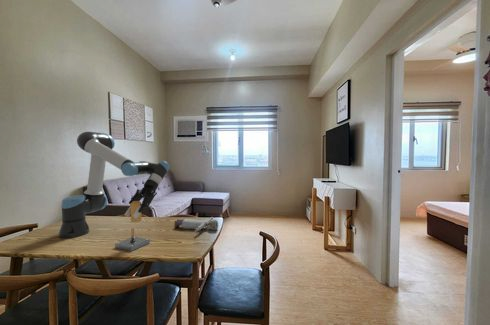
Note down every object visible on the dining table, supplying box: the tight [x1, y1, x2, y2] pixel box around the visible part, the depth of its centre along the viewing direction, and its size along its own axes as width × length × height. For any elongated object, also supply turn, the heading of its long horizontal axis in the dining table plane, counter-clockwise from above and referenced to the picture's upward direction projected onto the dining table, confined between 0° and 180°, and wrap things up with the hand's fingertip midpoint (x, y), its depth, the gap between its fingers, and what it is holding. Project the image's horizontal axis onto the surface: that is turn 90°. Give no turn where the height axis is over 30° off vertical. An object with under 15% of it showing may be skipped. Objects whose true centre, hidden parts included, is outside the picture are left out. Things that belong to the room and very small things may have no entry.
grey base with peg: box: [114, 228, 151, 252], centre depth 122 cm, size 12×12×9 cm
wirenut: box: [130, 200, 142, 223], centre depth 123 cm, size 5×5×11 cm
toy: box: [173, 216, 219, 233], centre depth 150 cm, size 30×7×30 cm
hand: (130, 216), depth 120 cm, fingers closed on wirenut, 5 cm apart
